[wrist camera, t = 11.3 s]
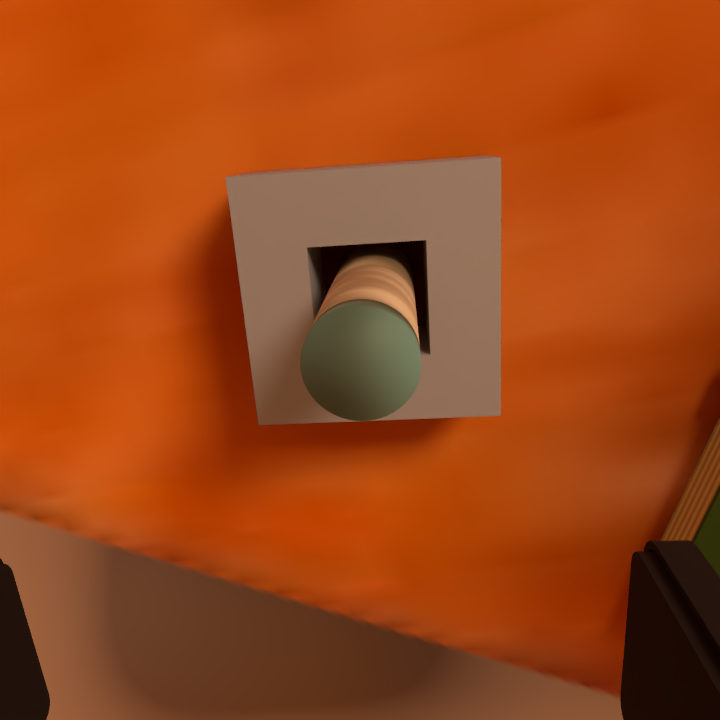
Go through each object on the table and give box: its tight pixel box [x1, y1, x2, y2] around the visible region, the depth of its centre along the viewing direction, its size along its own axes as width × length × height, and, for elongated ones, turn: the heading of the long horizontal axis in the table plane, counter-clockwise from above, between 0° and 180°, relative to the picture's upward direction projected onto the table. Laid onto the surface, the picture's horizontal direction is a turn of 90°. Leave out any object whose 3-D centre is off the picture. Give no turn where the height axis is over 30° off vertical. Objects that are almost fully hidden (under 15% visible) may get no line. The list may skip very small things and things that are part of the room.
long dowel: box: [300, 243, 421, 421], centre depth 27 cm, size 4×4×14 cm
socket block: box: [226, 156, 501, 425], centre depth 32 cm, size 12×12×5 cm
